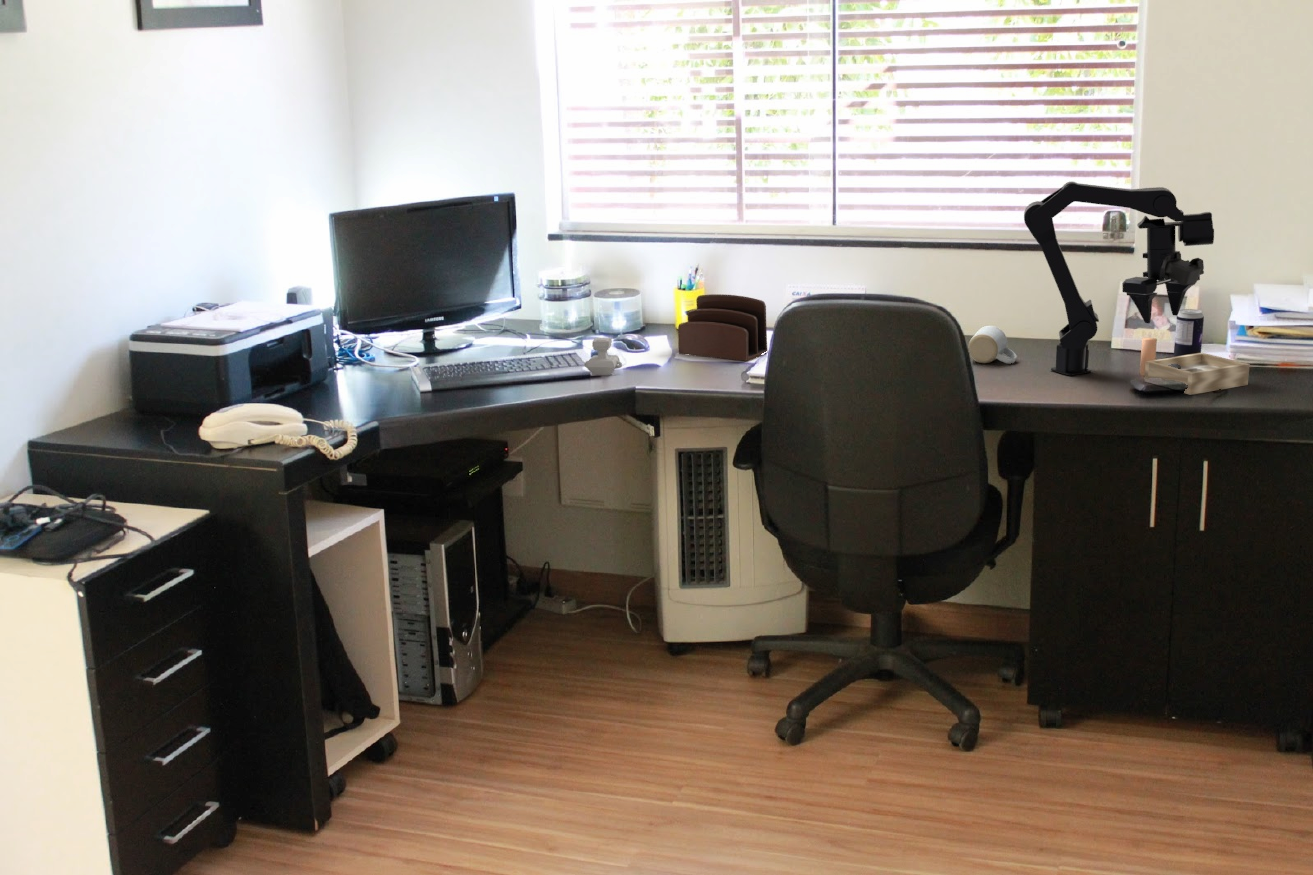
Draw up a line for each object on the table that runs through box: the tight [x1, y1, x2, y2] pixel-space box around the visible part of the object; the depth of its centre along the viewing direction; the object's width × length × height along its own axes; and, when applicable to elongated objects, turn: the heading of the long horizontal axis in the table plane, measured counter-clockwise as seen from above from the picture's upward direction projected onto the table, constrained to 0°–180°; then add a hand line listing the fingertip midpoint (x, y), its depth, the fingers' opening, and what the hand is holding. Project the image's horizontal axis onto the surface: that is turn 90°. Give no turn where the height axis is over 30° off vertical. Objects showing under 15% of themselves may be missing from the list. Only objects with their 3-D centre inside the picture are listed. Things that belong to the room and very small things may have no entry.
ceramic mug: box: [967, 325, 1018, 365], centre depth 306 cm, size 11×8×8 cm
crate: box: [1144, 352, 1251, 396], centre depth 281 cm, size 16×13×4 cm
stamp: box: [583, 337, 623, 376], centre depth 306 cm, size 9×7×8 cm
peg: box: [1139, 337, 1158, 377], centre depth 289 cm, size 3×3×8 cm
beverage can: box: [1173, 308, 1205, 357], centre depth 297 cm, size 6×6×12 cm
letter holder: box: [677, 293, 768, 362], centre depth 321 cm, size 10×20×14 cm, turn 56°
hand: (1161, 319), depth 286 cm, fingers open, 9 cm apart
